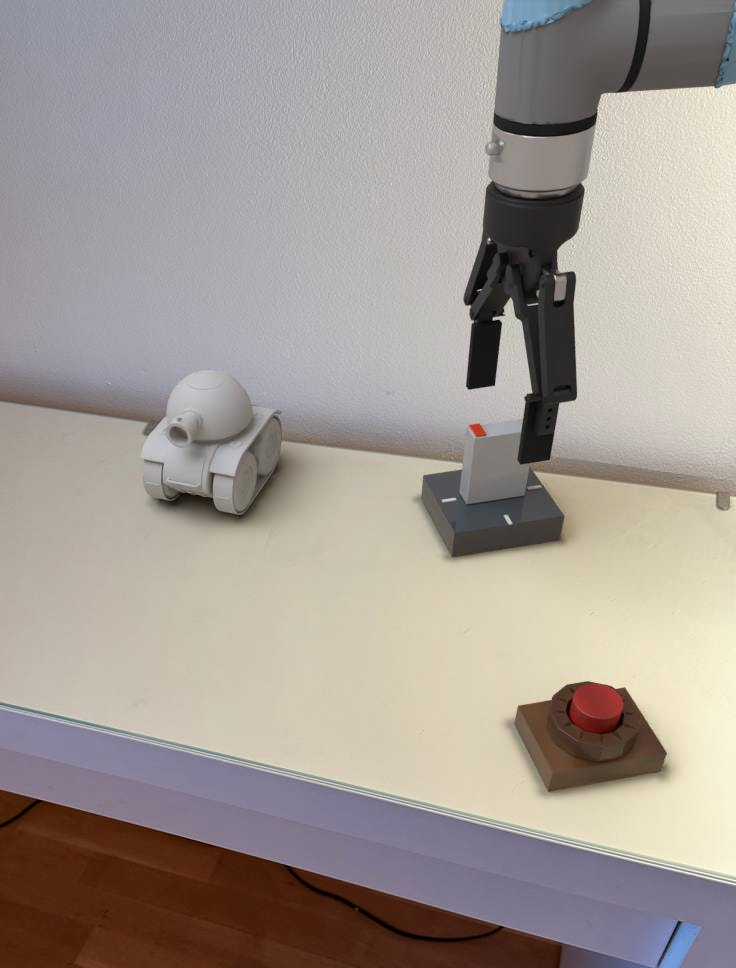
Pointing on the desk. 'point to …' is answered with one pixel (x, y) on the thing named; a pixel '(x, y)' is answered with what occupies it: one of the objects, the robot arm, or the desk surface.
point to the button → (596, 708)
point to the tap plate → (490, 516)
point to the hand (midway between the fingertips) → (505, 421)
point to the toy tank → (212, 443)
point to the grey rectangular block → (493, 462)
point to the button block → (586, 742)
